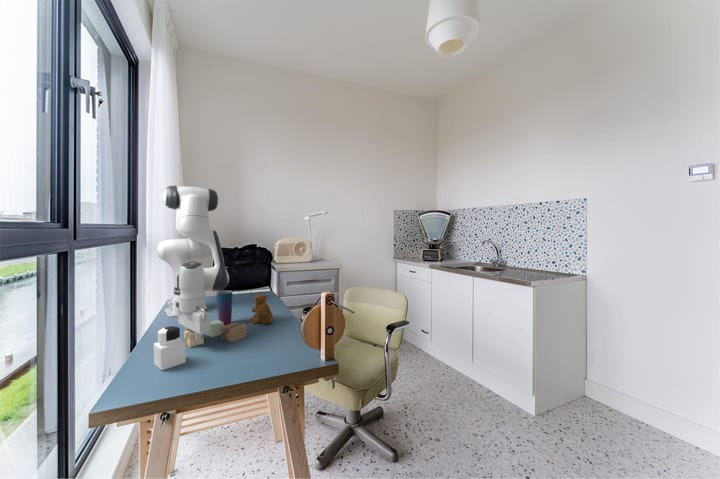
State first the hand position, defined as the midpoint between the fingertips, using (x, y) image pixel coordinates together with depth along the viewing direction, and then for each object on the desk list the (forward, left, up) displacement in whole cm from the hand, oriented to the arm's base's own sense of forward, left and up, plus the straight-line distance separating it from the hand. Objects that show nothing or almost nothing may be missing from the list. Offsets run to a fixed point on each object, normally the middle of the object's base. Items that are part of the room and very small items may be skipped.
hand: (193, 339), depth 114 cm
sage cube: (-4, +10, -2) cm, 11 cm away
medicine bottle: (+11, -12, -2) cm, 16 cm away
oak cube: (0, 0, -2) cm, 2 cm away
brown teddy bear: (-1, +31, -2) cm, 31 cm away
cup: (-13, +19, -2) cm, 23 cm away
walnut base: (+6, +13, -2) cm, 14 cm away
